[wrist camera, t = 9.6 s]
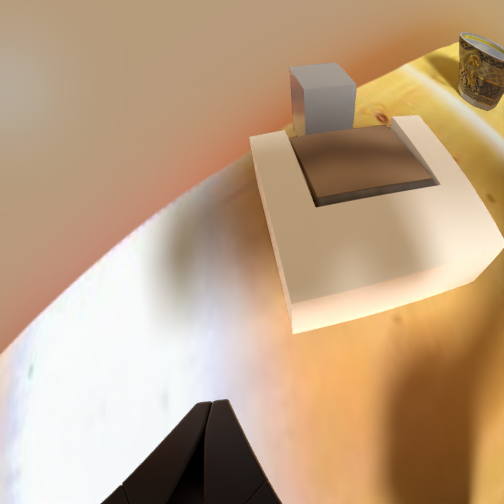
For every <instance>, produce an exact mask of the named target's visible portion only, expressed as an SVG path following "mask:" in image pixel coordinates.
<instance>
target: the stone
mask: <svg viewBox="0 0 504 504" xmlns="http://www.w3.org/2000/svg"><path fill="white" fill-rule="evenodd" d="M289 72H290V85H291V99H292V113H293V128H294V131H295V133H296V135H297V137H298V136H304V135H310V134H317V133H324V132H331V131H338V130H346V129H353V121H354V111H355V99H356V83H355V82H354V81H353V80H352V79H351V78H350V77H349V75H348V74H346V72H345V71H344V70H343V69H342V68H341V67H340V66H339V65H338V64H337V63H325V64H314V65H303V66H295V67H289Z"/></svg>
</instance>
